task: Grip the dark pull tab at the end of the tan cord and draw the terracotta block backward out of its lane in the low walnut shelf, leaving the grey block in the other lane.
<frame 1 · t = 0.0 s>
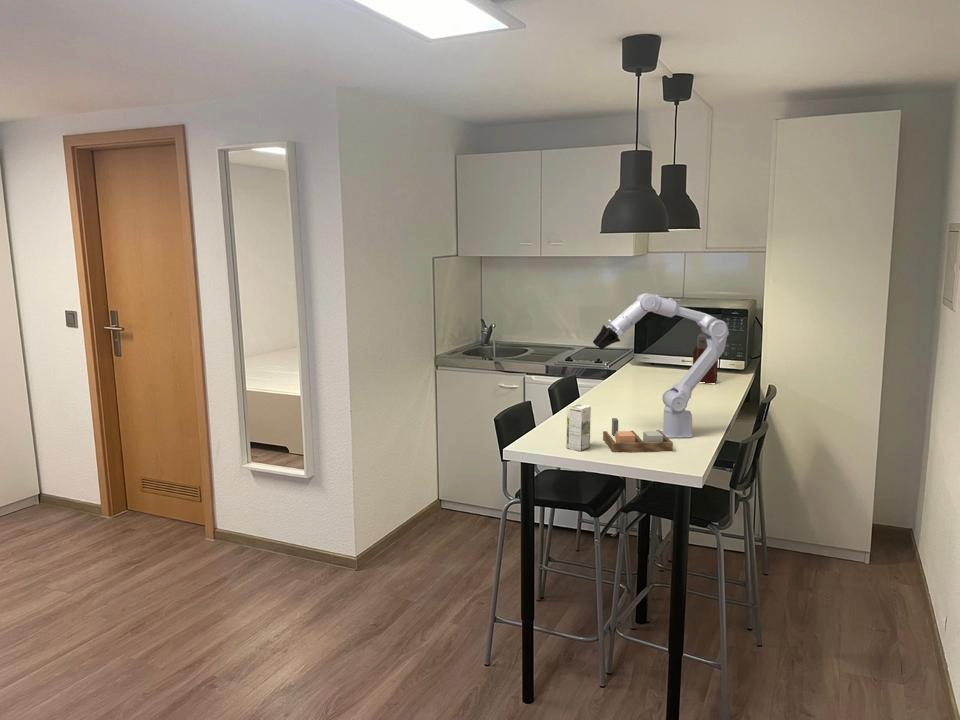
hand: (596, 345, 251), 32 cm above the table, tool tilted 50°, fingers open, 7 cm apart
lane shelf: (636, 445, 245), on the table
grey block: (652, 448, 242), resting in lane shelf
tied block: (625, 448, 242), on the table
syrup box: (578, 448, 243), on the table
red liquid bottle: (703, 382, 353), on the table
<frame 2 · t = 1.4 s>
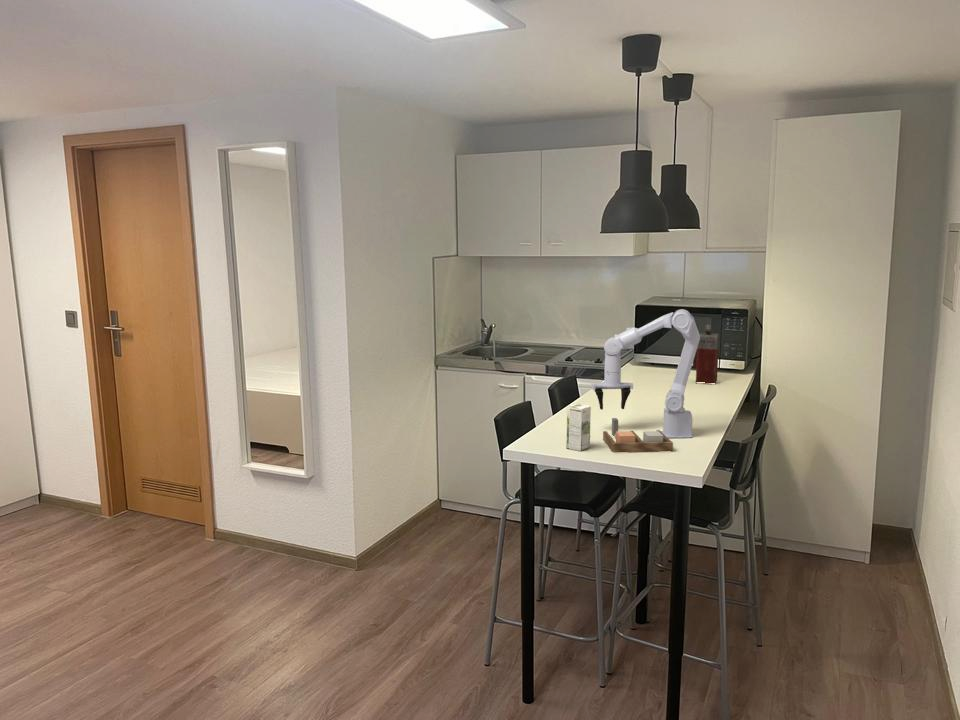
hand: (612, 408, 262), 8 cm above the table, tool pointing down, fingers open, 7 cm apart
nothing on the table moved.
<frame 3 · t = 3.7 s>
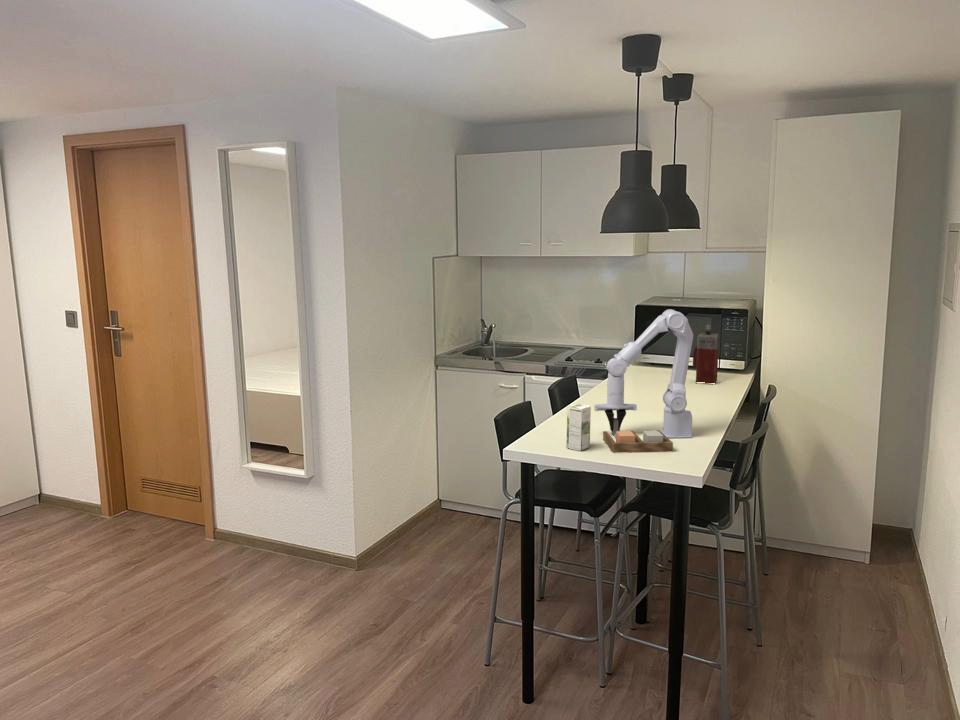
hand: (615, 430, 257), 2 cm above the table, tool pointing down, fingers closed on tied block
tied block: (625, 448, 242), on the table, touching gripper
everything else where it was.
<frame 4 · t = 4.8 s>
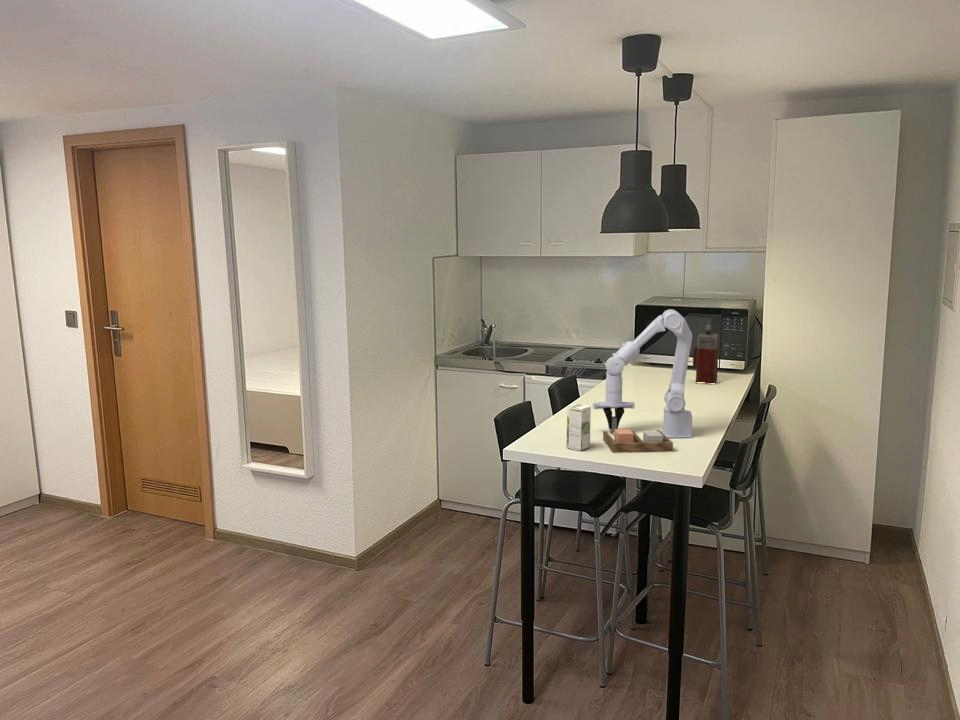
hand: (613, 428, 260), 2 cm above the table, tool pointing down, fingers closed on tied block
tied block: (623, 446, 244), on the table, touching gripper
everything else where it was.
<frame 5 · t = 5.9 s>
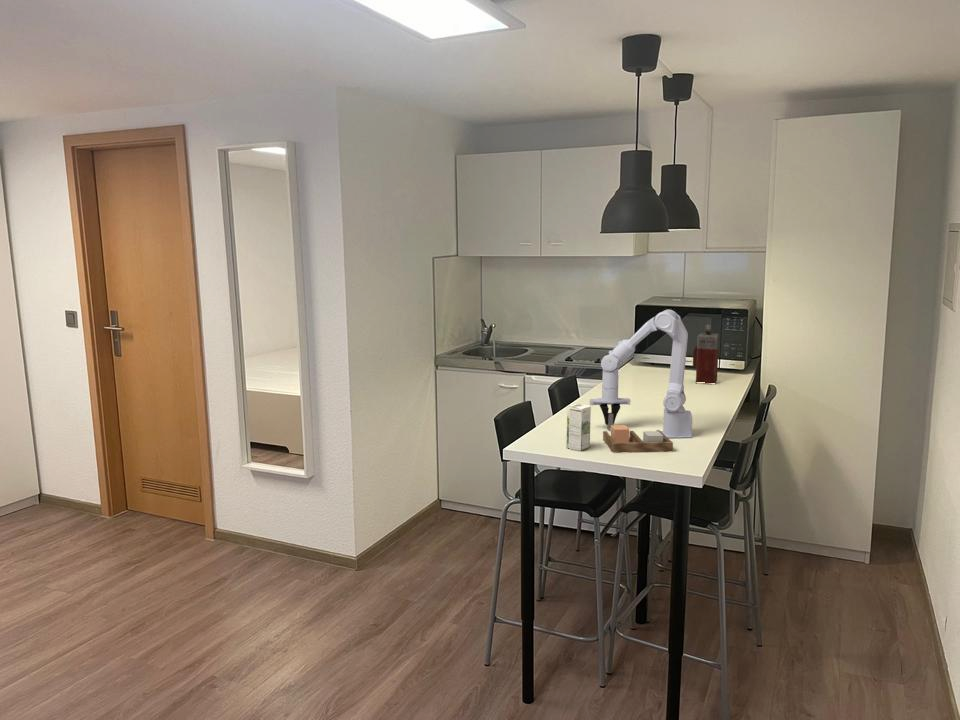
hand: (609, 424, 266), 2 cm above the table, tool pointing down, fingers closed on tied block
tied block: (619, 441, 250), on the table, touching gripper
everything else where it was.
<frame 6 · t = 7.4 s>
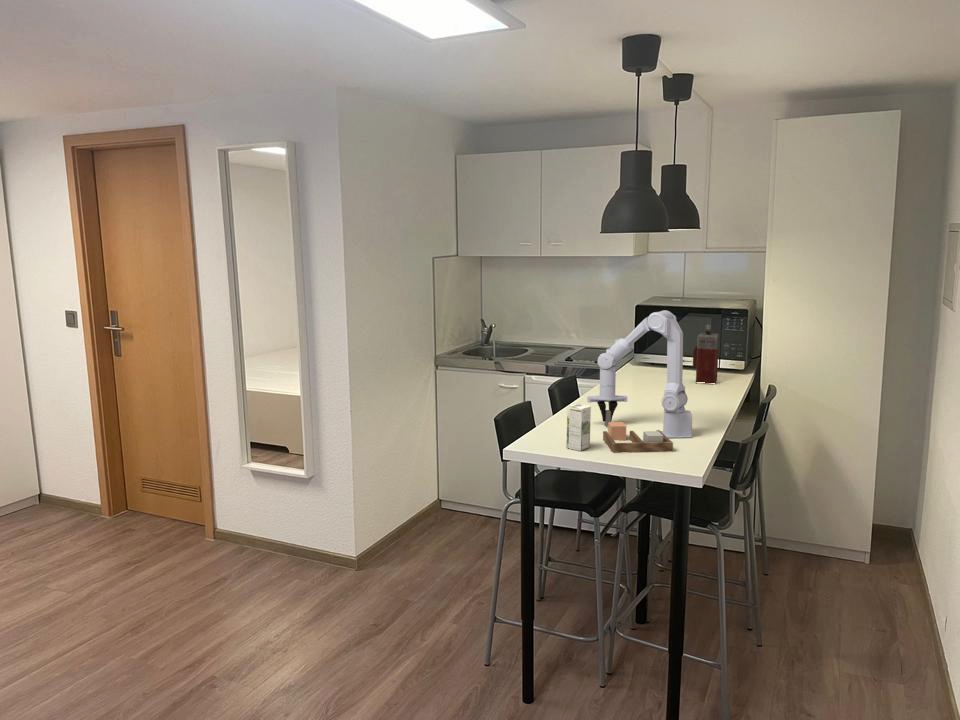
hand: (607, 420, 271), 2 cm above the table, tool pointing down, fingers closed on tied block
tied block: (616, 438, 254), on the table, touching gripper
everything else where it was.
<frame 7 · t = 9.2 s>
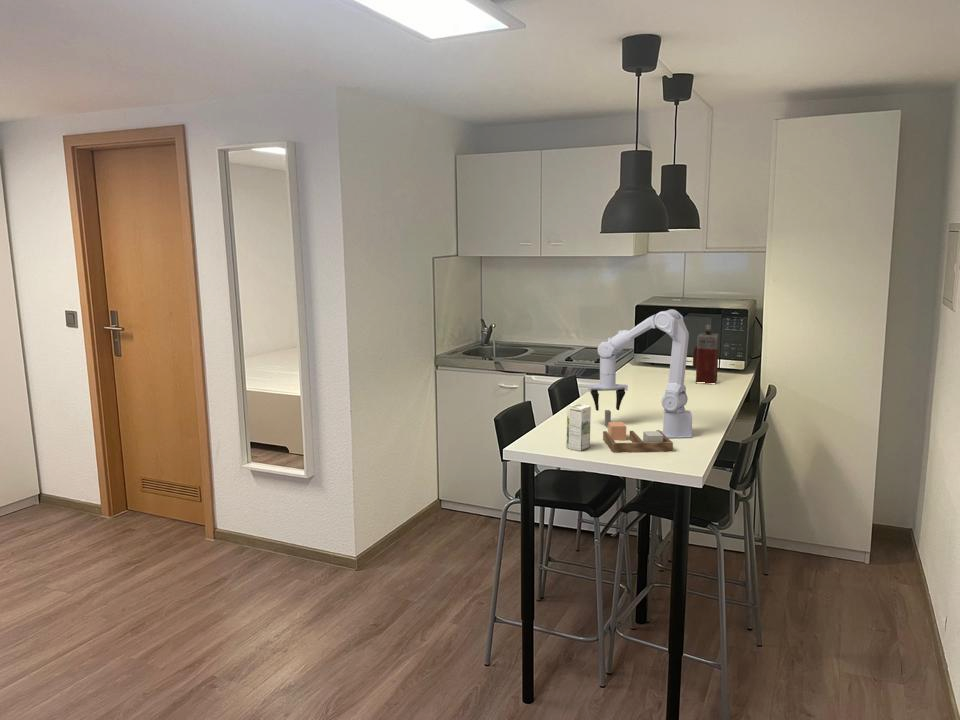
hand: (607, 409, 271), 6 cm above the table, tool pointing down, fingers open, 7 cm apart
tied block: (616, 438, 254), on the table
everything else where it was.
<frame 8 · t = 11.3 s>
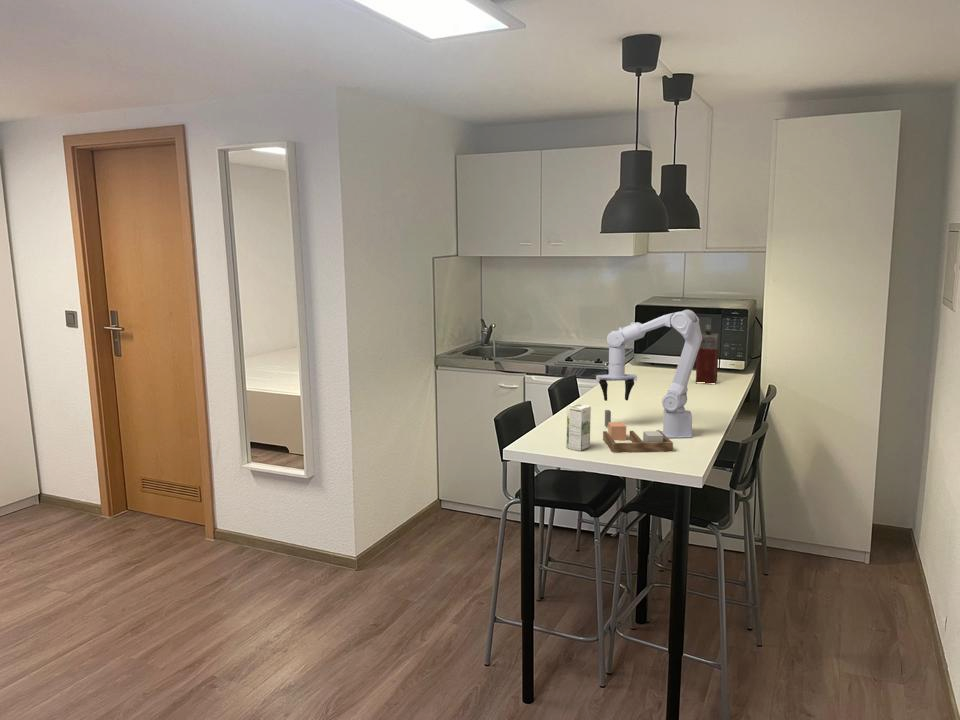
hand: (616, 400, 267), 10 cm above the table, tool pointing down, fingers open, 7 cm apart
nothing on the table moved.
at the end: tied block inside the target area (3.9 cm from its centre), on the table; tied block tilted 0°; grey block moved 0.1 cm from its start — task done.
